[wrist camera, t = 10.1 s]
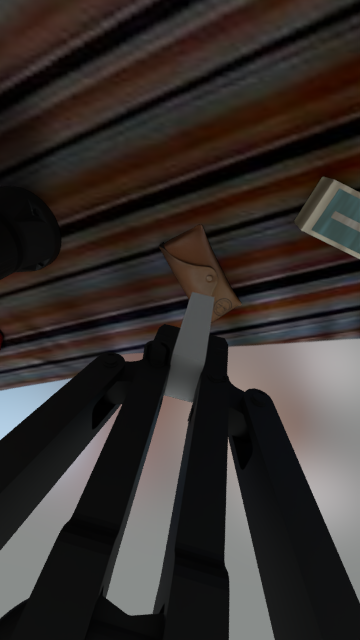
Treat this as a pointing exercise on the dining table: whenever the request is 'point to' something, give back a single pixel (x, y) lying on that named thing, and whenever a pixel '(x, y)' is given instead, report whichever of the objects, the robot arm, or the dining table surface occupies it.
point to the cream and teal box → (333, 215)
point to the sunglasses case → (199, 269)
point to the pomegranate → (0, 340)
